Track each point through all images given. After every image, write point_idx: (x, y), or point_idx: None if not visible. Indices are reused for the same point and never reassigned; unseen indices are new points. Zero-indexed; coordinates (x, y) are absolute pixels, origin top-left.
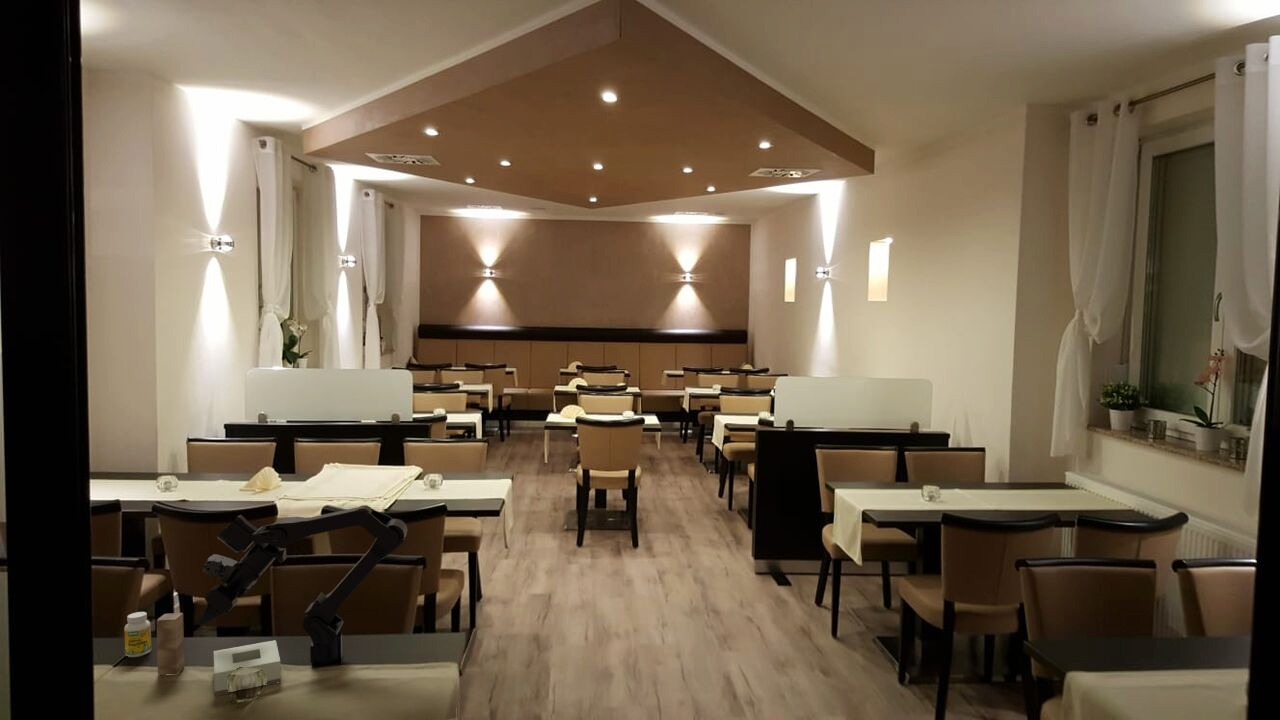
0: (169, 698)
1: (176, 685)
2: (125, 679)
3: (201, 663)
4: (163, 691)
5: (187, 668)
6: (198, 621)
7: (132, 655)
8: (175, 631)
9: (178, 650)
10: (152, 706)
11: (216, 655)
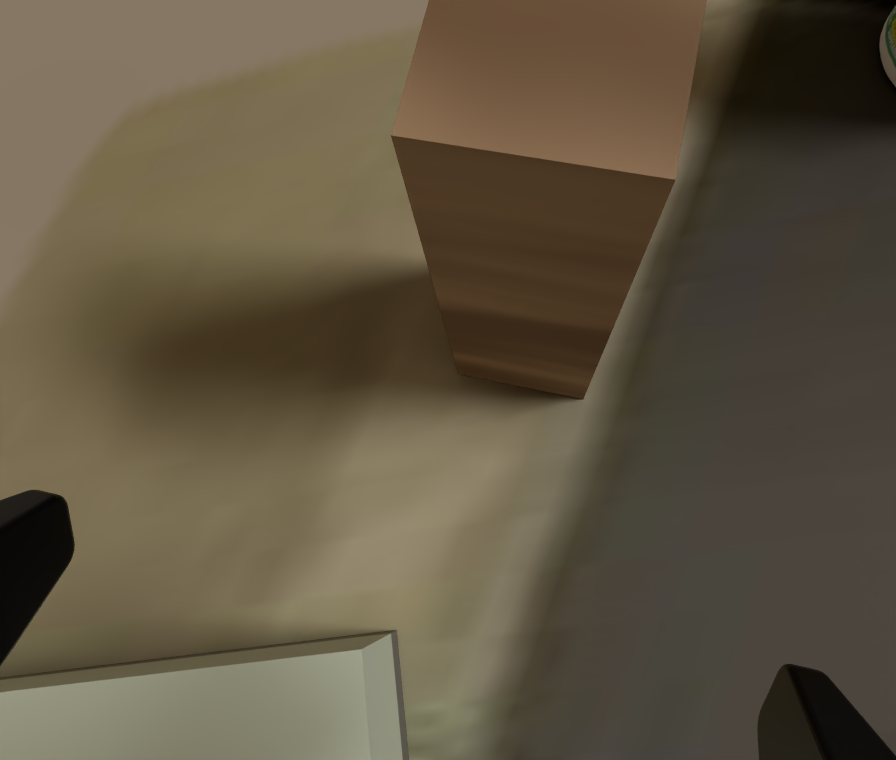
0: (94, 394)
1: (277, 402)
2: None
3: (615, 511)
4: (218, 340)
5: (551, 425)
6: (6, 501)
7: (883, 31)
8: (418, 222)
9: (489, 327)
10: (30, 320)
11: (237, 688)
